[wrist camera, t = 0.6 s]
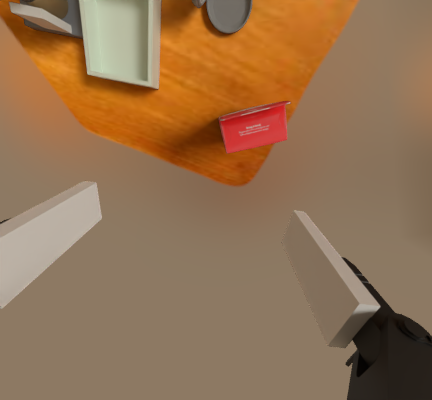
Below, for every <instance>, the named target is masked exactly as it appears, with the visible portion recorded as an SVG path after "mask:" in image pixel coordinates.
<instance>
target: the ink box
mask: <svg viewBox="0 0 432 400" xmlns="http://www.w3.org/2000/svg"><path fill="white" fill-rule="evenodd" d="M290 103H291V102H290V101H283V102H277V103H272V104H266V105H261V106H256V107H252V108H248V109H244V110H241V111H237V112H233V113H230V114H227V115H224V116H221V117H219V118H218V120H219V124H220V129H221V134H222V138H223V142H224V146H225V149H226V153H233V152H237V151H242V150H246V149H251V148H255V147H260V146H264V145H268V144H272V143H276V142H280V141H284V140H287V124H286V111H285V105H286V104H290Z"/></svg>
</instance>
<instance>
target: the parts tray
mask: <svg viewBox="0 0 432 400" xmlns="http://www.w3.org/2000/svg"><path fill="white" fill-rule="evenodd" d="M79 4H80V13H81V22H82V31H83V40H84V49H85V58H86V66H87V74H88V75H91V76H95V77H98V78H102V79H107V80H113V81H118V82H123V83H128V84H133V85H139V86H144V87H149V88H154V89H159V65H160V31H161V0H79Z"/></svg>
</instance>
